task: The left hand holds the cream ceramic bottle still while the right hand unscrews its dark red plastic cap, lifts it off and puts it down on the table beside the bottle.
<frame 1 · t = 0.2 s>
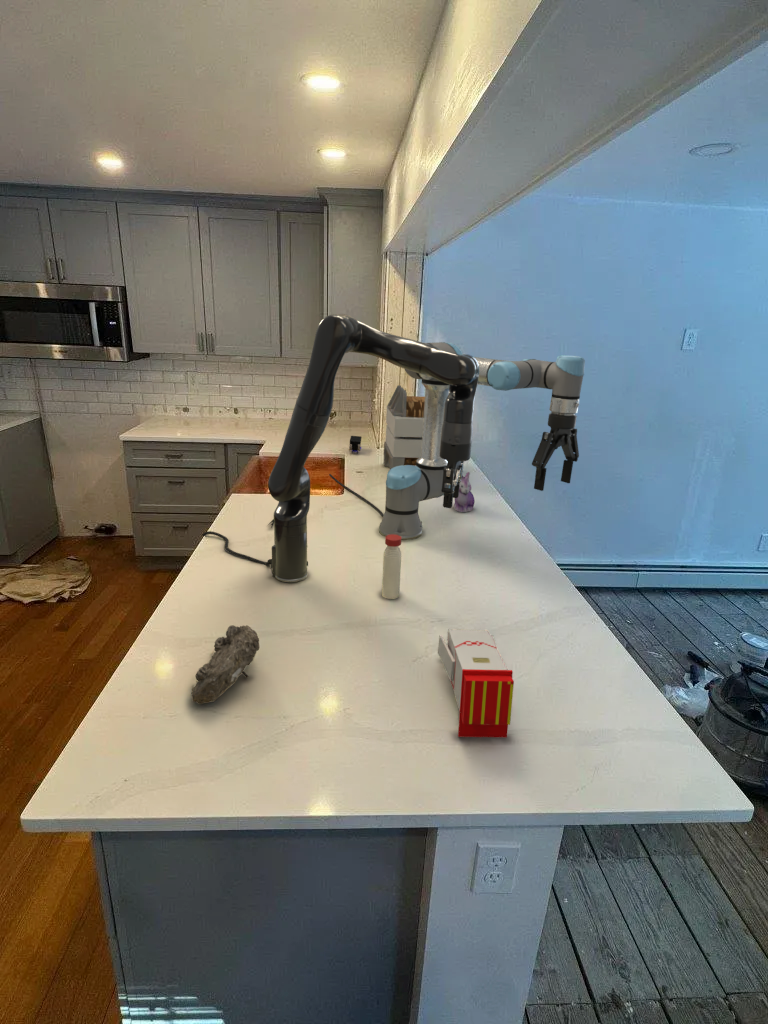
left hand: (450, 502, 143), 29 cm above the counter, tool pointing down, fingers open, 8 cm apart
right hand: (552, 485, 166), 28 cm above the counter, tool pointing down, fingers open, 13 cm apart
figurine: (463, 509, 228), on the counter
toy: (469, 691, 119), on the counter
bottle: (390, 594, 157), on the counter
figurine character: (355, 451, 310), on the counter
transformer: (419, 473, 275), on the counter
cap: (393, 538, 152), point 17 cm above the counter, screwed on, not yet turned
feather: (278, 516, 211), on the counter
fossil: (230, 675, 120), on the counter
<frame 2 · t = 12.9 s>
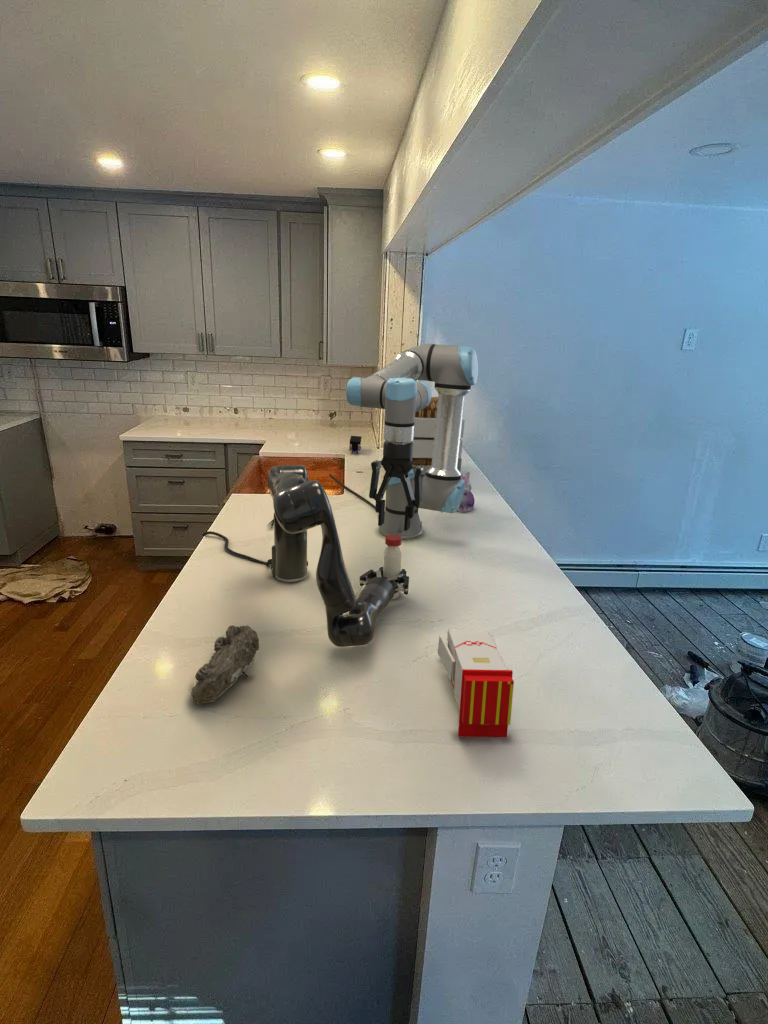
left hand: (394, 570, 157), 6 cm above the counter, tool horizontal, fingers closed on bottle, 5 cm apart
right hand: (394, 526, 150), 20 cm above the counter, tool pointing down, fingers open, 7 cm apart
bottle: (390, 594, 157), on the counter, touching left hand
everything else where it was.
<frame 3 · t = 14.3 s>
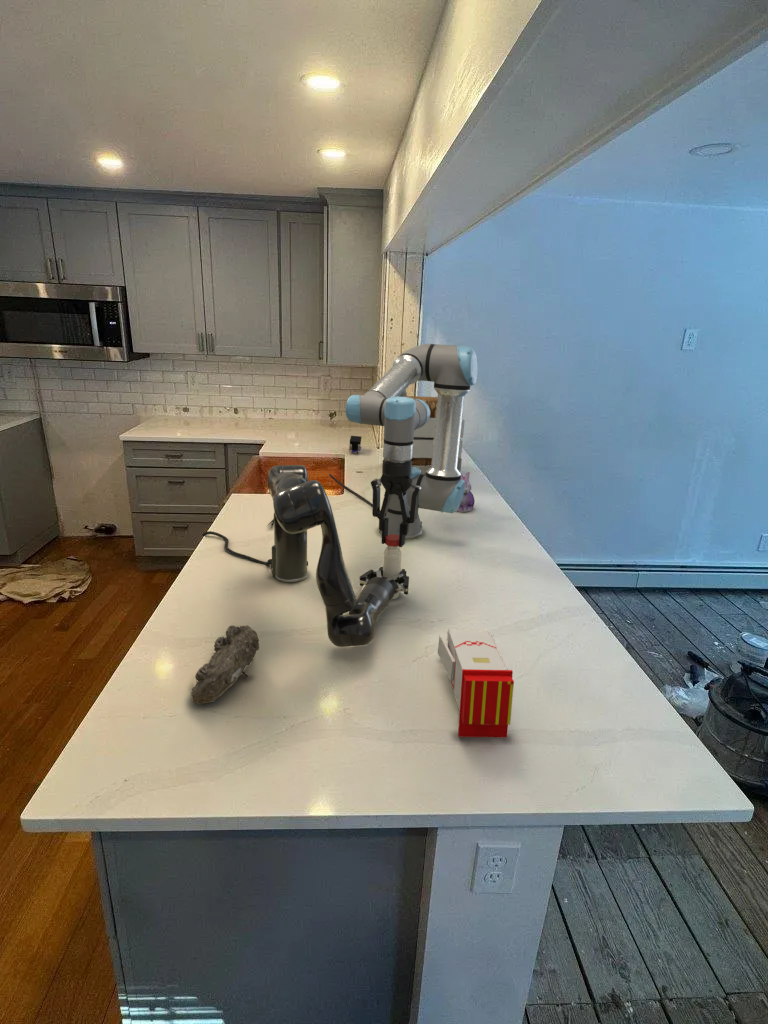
left hand: (394, 570, 157), 6 cm above the counter, tool horizontal, fingers closed on bottle, 5 cm apart
right hand: (393, 543, 152), 15 cm above the counter, tool pointing down, fingers closed on cap, 4 cm apart
bottle: (390, 594, 157), on the counter, touching left hand
cap: (393, 538, 152), point 17 cm above the counter, screwed on, not yet turned, touching right hand
everything else where it was.
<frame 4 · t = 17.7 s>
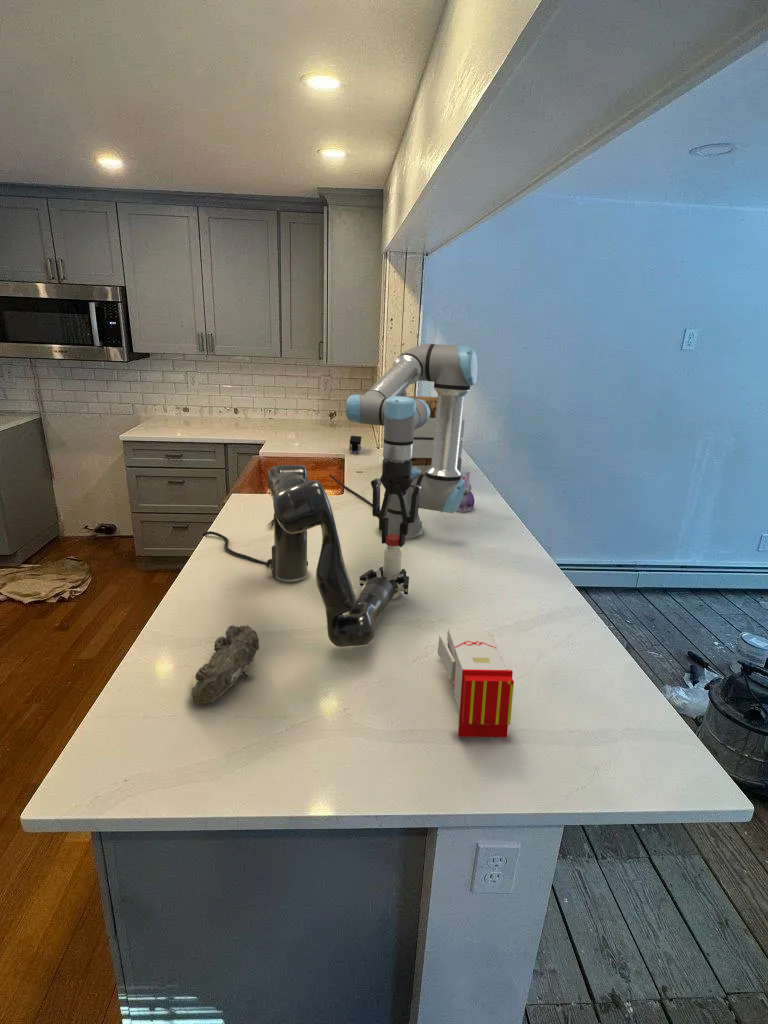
left hand: (394, 570, 157), 6 cm above the counter, tool horizontal, fingers closed on bottle, 5 cm apart
right hand: (393, 543, 152), 16 cm above the counter, tool pointing down, fingers closed on cap, 4 cm apart
bottle: (390, 594, 157), on the counter, touching left hand
cap: (393, 538, 151), point 17 cm above the counter, turned 103° so far, risen 0.1 cm, still on its thread, touching right hand
everything else where it was.
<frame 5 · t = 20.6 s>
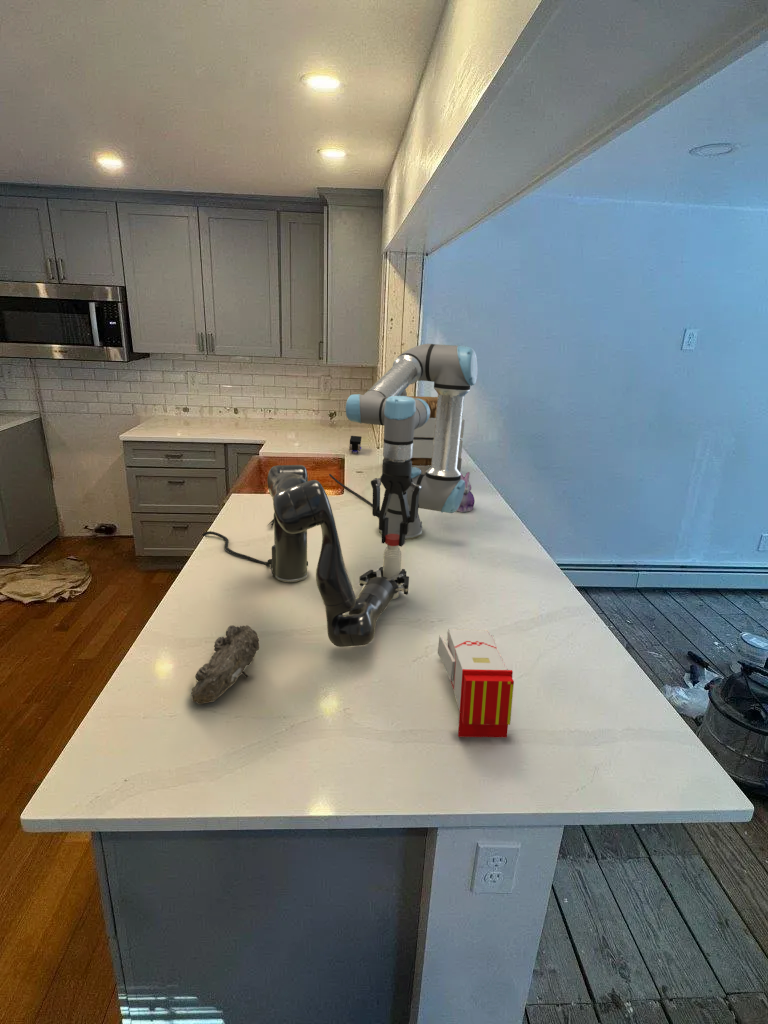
left hand: (394, 570, 157), 6 cm above the counter, tool horizontal, fingers closed on bottle, 5 cm apart
right hand: (393, 543, 152), 16 cm above the counter, tool pointing down, fingers closed on cap, 4 cm apart
bottle: (390, 594, 157), on the counter, touching left hand
cap: (393, 537, 151), point 17 cm above the counter, turned 205° so far, risen 0.2 cm, still on its thread, touching right hand
everything else where it was.
when the right hand's fingers open (1 cm above the counter, at t = 30.1 s): cap drops 1 cm, point 1 cm above the counter.
when the left hand's fingers open (6 cm above the counter, at t = 31.4 s): bottle stays where it is, on the counter.
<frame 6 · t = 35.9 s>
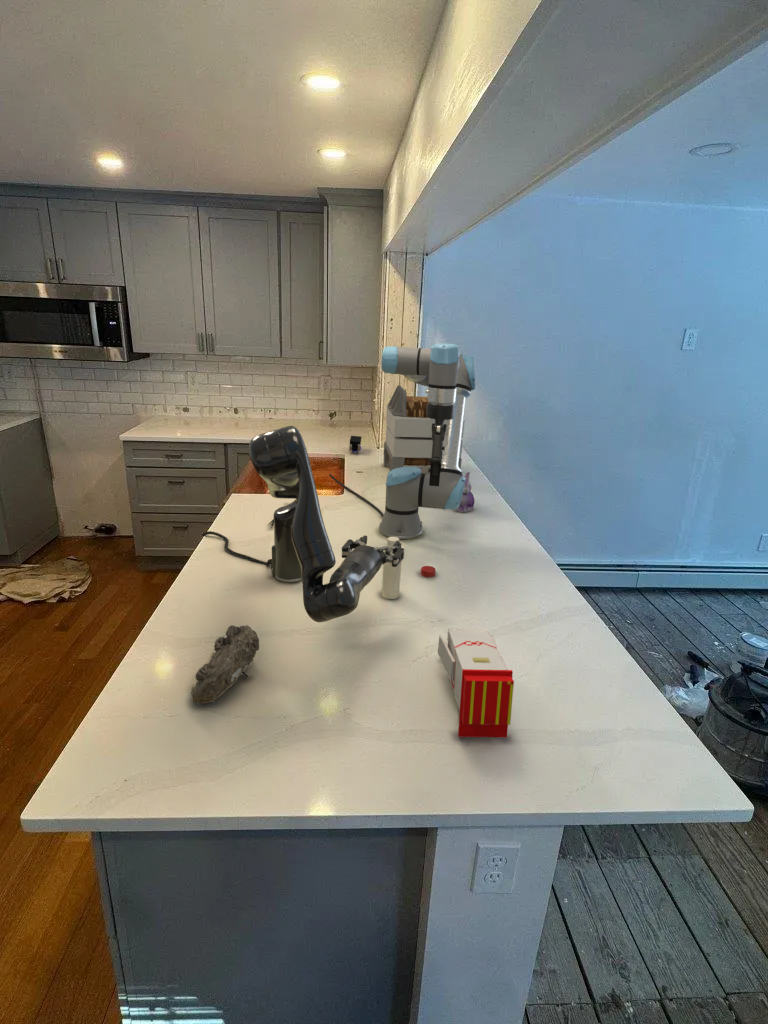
left hand: (381, 541, 141), 20 cm above the counter, tool horizontal, fingers open, 8 cm apart
right hand: (435, 478, 160), 30 cm above the counter, tool pointing down, fingers open, 13 cm apart
bottle: (390, 594, 157), on the counter
cap: (428, 569, 170), point 1 cm above the counter, off its thread
everything else where it was.
at the end: cap came off its thread; cap point 1.5 cm above the counter; the left hand is holding nothing; the right hand is holding nothing; bottle tilted 0°; bottle moved 0.0 cm from its start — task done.
